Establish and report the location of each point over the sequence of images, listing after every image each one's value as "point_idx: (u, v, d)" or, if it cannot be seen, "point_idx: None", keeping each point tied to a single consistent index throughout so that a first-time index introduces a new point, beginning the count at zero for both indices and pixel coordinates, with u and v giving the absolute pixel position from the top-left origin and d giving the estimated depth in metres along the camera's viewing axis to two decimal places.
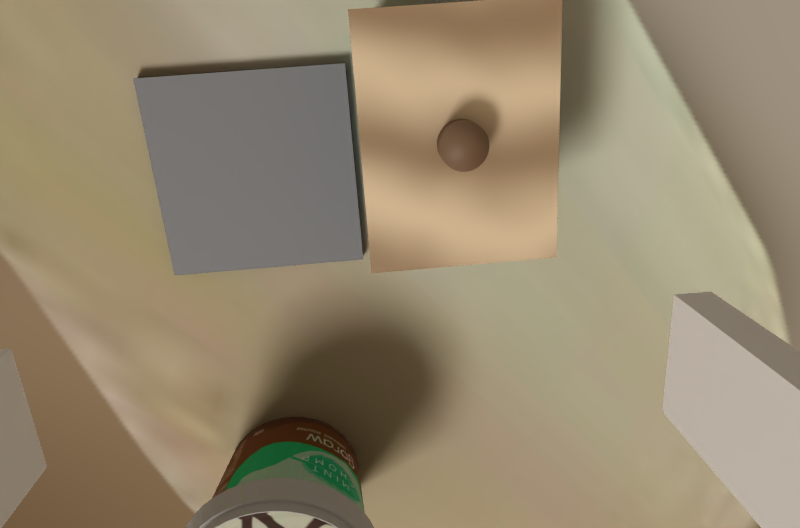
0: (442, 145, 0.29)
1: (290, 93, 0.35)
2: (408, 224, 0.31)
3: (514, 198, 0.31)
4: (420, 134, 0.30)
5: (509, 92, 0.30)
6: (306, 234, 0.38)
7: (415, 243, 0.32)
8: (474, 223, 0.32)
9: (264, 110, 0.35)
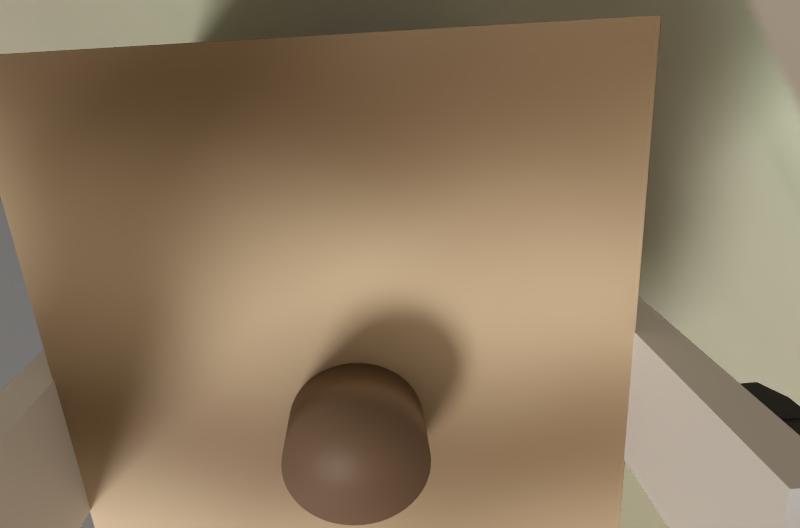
0: (288, 462, 0.10)
1: None
2: None
3: None
4: (241, 403, 0.11)
5: (492, 294, 0.10)
6: None
7: None
8: None
9: None
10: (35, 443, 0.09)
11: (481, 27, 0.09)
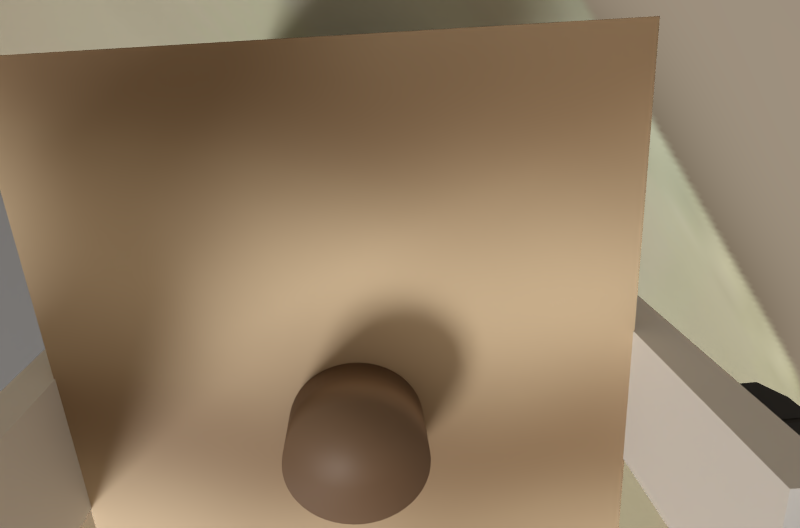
0: (289, 461, 0.10)
1: None
2: None
3: None
4: (241, 402, 0.11)
5: (492, 294, 0.10)
6: None
7: None
8: None
9: None
10: (35, 443, 0.09)
11: (481, 28, 0.09)
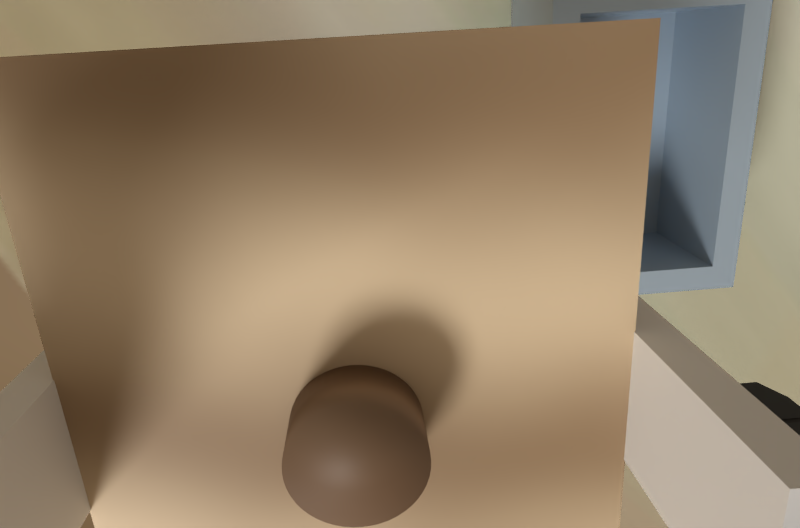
0: (289, 464, 0.10)
1: None
2: None
3: None
4: (241, 404, 0.11)
5: (492, 296, 0.10)
6: None
7: None
8: None
9: None
10: (35, 443, 0.09)
11: (481, 30, 0.09)
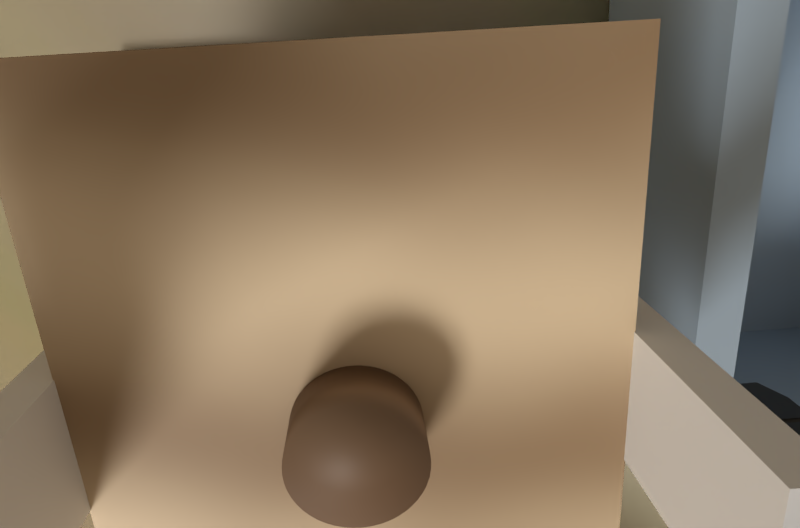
0: (289, 465, 0.10)
1: None
2: None
3: None
4: (241, 405, 0.11)
5: (492, 296, 0.10)
6: None
7: None
8: None
9: None
10: (35, 443, 0.09)
11: (481, 31, 0.09)
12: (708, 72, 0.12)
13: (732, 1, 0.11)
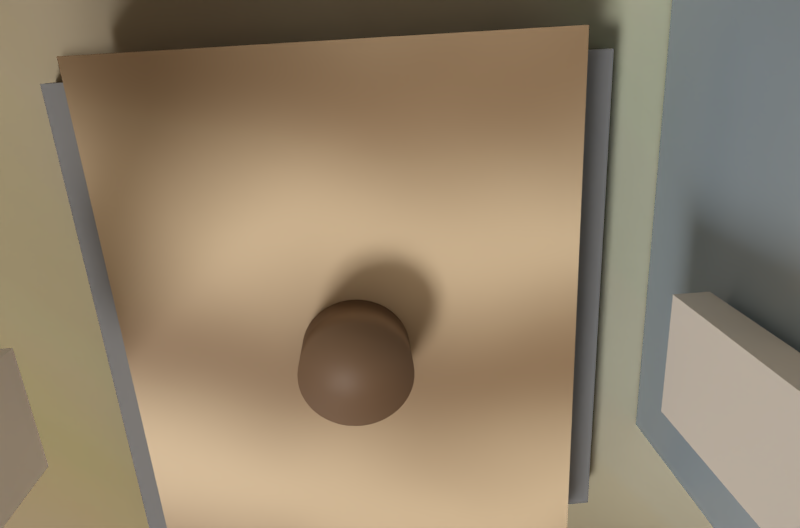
0: (303, 373, 0.12)
1: None
2: (252, 504, 0.15)
3: (478, 452, 0.15)
4: (264, 331, 0.13)
5: (463, 244, 0.13)
6: None
7: None
8: (393, 499, 0.15)
9: None
10: None
11: (451, 34, 0.12)
12: None
13: None
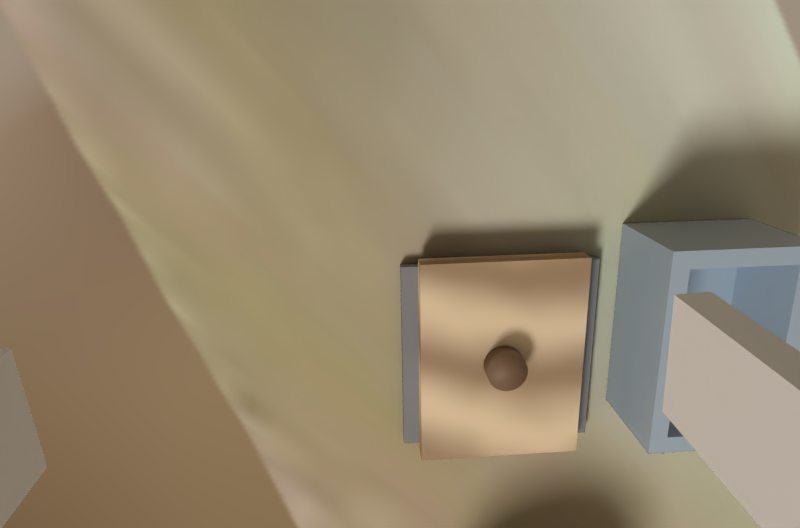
0: (490, 371, 0.35)
1: None
2: (455, 423, 0.38)
3: (544, 405, 0.38)
4: (471, 356, 0.36)
5: (545, 327, 0.36)
6: None
7: (460, 438, 0.38)
8: (509, 424, 0.38)
9: None
10: None
11: (546, 260, 0.35)
12: (660, 296, 0.32)
13: (668, 276, 0.31)
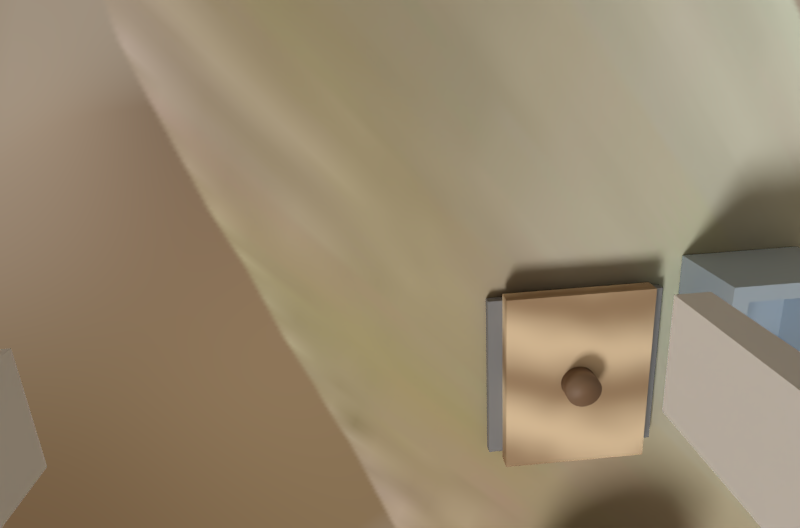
0: (568, 390, 0.40)
1: None
2: (536, 434, 0.43)
3: (614, 416, 0.43)
4: (550, 376, 0.41)
5: (615, 349, 0.41)
6: None
7: (540, 446, 0.43)
8: (583, 433, 0.43)
9: None
10: None
11: (617, 292, 0.40)
12: None
13: None
